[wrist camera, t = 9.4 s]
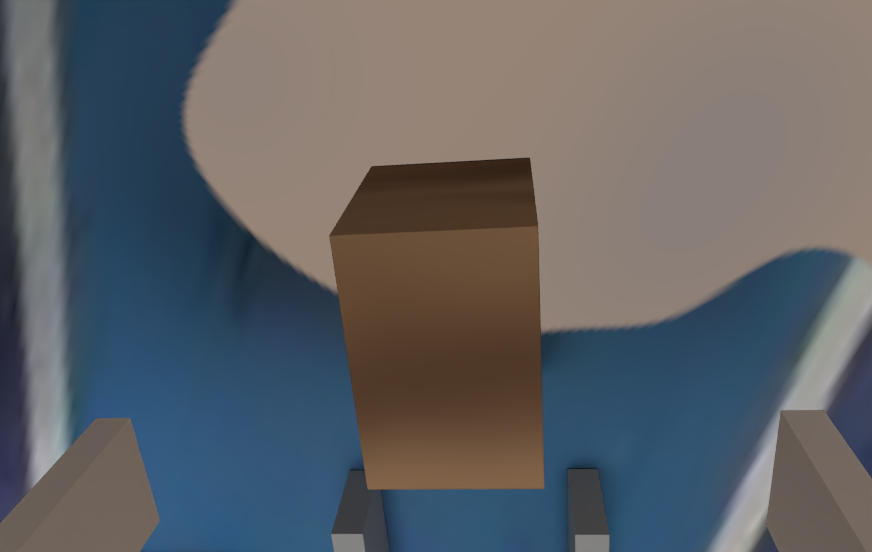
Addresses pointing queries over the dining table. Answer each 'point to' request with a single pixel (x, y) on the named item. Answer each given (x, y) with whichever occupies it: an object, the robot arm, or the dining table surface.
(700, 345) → the dining table surface
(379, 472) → the walnut block
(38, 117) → the dining table surface
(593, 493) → the grey channel
